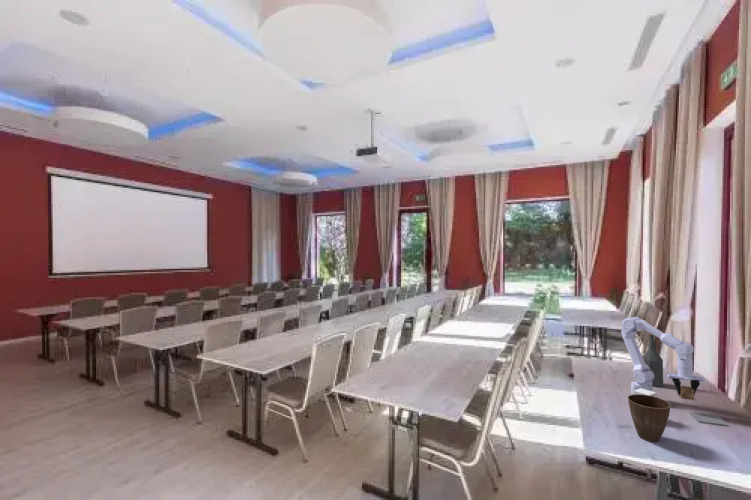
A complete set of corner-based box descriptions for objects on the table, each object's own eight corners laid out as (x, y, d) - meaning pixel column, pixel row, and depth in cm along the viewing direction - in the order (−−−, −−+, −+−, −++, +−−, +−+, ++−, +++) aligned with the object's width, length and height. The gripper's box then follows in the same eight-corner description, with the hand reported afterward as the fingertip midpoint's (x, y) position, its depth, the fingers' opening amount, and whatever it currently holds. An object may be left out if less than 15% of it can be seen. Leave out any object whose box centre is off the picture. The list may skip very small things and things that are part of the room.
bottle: (662, 383, 226) (661, 333, 227) (664, 388, 218) (663, 337, 218) (641, 380, 232) (640, 332, 232) (642, 385, 224) (641, 335, 224)
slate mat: (698, 422, 175) (698, 421, 175) (689, 412, 185) (689, 411, 185) (728, 426, 171) (728, 425, 171) (717, 416, 181) (717, 415, 181)
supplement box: (649, 422, 176) (648, 395, 176) (632, 416, 182) (632, 390, 182) (657, 418, 179) (657, 392, 179) (640, 412, 186) (640, 387, 186)
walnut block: (681, 398, 185) (681, 388, 185) (677, 395, 190) (677, 385, 190) (694, 400, 183) (693, 389, 183) (690, 396, 188) (689, 386, 188)
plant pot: (680, 443, 156) (679, 405, 156) (653, 449, 152) (653, 410, 152) (645, 427, 170) (644, 392, 170) (620, 432, 166) (619, 396, 166)
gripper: (670, 368, 186) (670, 395, 186) (706, 371, 180) (707, 399, 180) (665, 364, 192) (666, 390, 192) (700, 367, 187) (701, 394, 187)
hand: (685, 394), depth 187 cm, fingers closed on walnut block, 5 cm apart
